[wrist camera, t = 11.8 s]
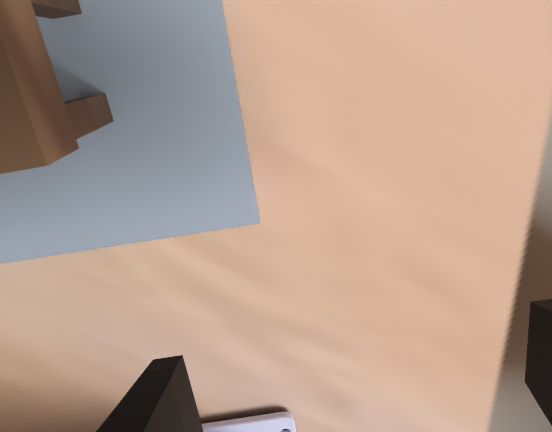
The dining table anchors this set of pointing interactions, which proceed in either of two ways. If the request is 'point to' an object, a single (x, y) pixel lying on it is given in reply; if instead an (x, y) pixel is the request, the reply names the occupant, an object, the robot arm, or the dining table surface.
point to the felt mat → (137, 133)
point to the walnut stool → (38, 91)
